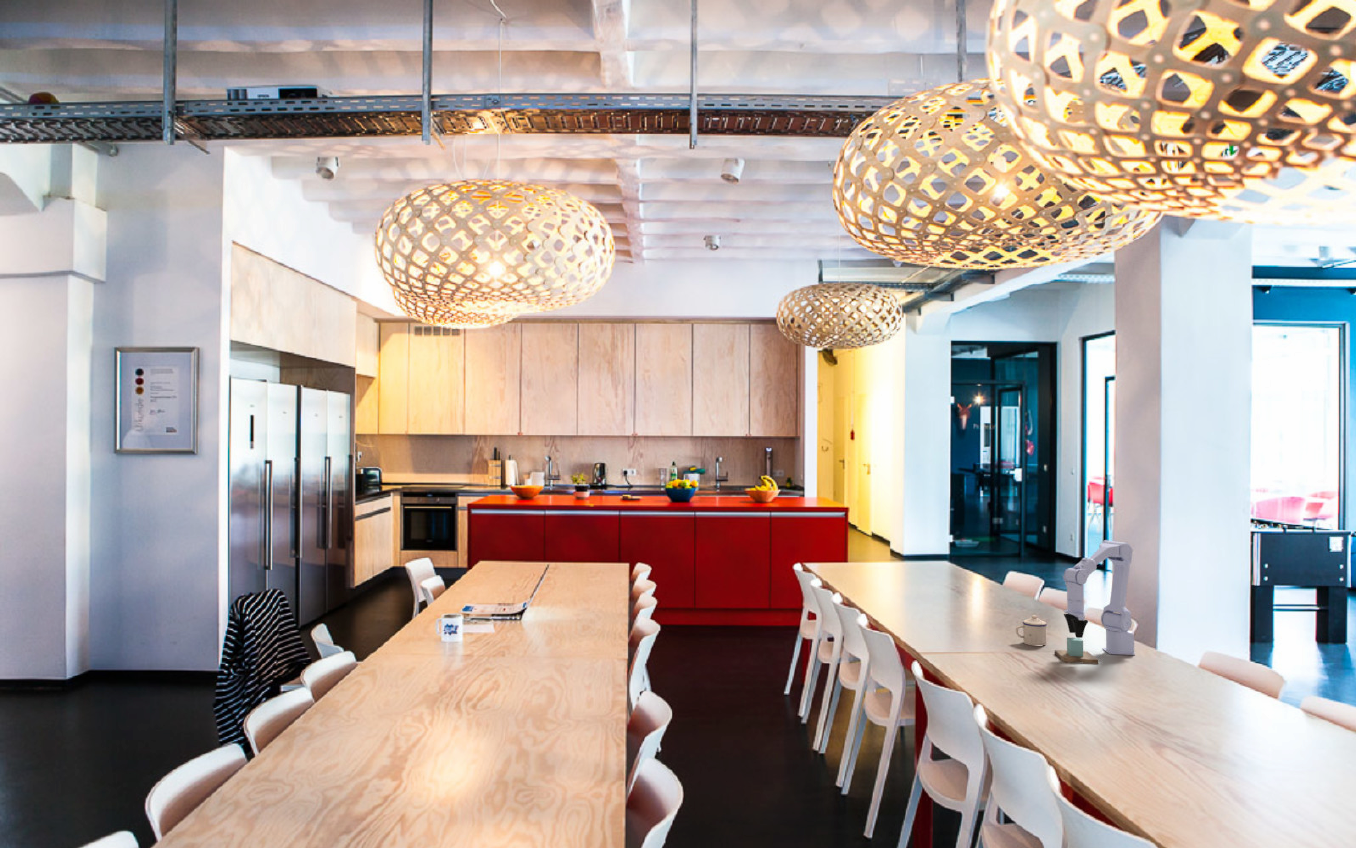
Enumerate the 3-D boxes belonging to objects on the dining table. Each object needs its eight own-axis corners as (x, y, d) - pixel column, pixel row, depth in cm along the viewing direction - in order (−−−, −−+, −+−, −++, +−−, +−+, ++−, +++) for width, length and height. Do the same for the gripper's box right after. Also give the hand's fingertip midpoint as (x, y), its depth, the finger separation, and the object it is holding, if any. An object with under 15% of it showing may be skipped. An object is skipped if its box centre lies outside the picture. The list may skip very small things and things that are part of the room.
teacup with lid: (1043, 641, 329) (1042, 613, 329) (1049, 647, 320) (1049, 618, 320) (1012, 640, 330) (1012, 612, 331) (1019, 646, 321) (1018, 617, 322)
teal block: (1079, 653, 304) (1079, 638, 305) (1083, 656, 300) (1083, 640, 300) (1067, 653, 305) (1066, 637, 305) (1070, 656, 301) (1070, 640, 301)
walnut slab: (1087, 655, 307) (1087, 651, 307) (1098, 663, 296) (1098, 659, 296) (1054, 653, 309) (1054, 650, 309) (1064, 662, 298) (1064, 658, 298)
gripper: (1058, 595, 311) (1059, 630, 311) (1070, 603, 297) (1070, 639, 296) (1077, 596, 310) (1078, 631, 309) (1090, 603, 295) (1090, 640, 295)
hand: (1075, 635), depth 303 cm, fingers open, 7 cm apart
